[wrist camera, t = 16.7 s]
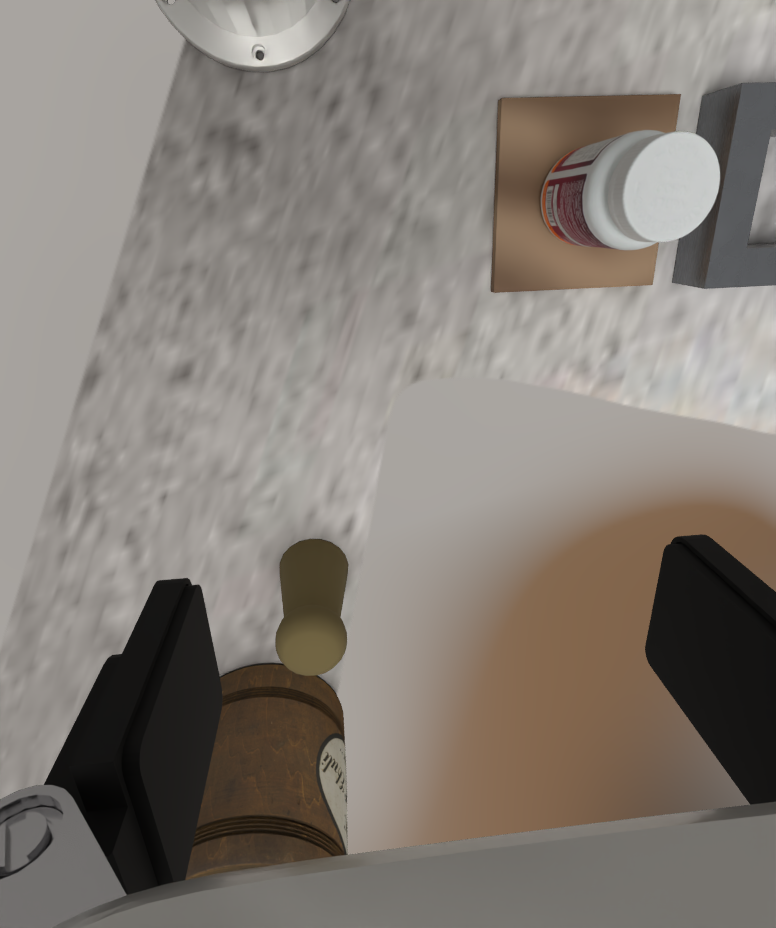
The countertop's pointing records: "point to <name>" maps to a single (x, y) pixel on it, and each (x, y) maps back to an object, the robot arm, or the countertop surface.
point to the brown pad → (522, 178)
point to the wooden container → (273, 775)
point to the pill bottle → (631, 190)
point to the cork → (312, 607)
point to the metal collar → (732, 192)
